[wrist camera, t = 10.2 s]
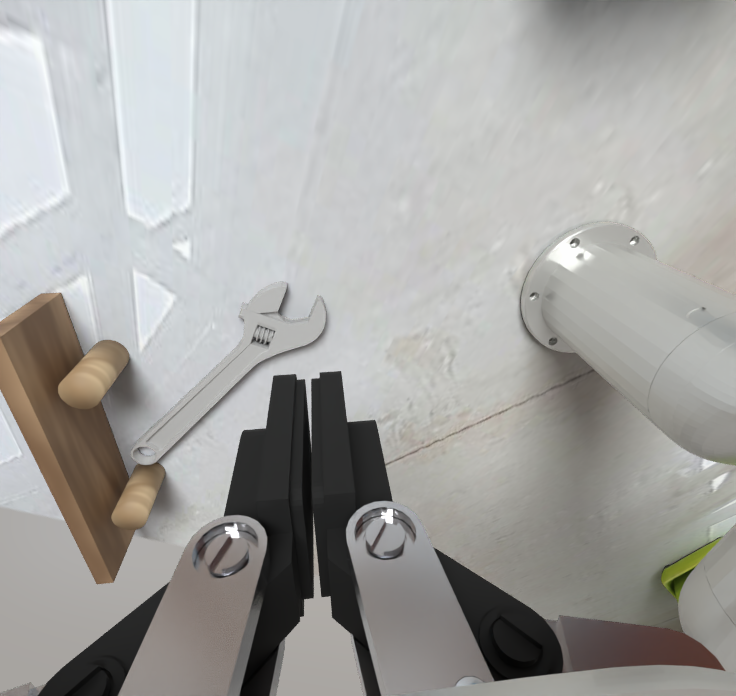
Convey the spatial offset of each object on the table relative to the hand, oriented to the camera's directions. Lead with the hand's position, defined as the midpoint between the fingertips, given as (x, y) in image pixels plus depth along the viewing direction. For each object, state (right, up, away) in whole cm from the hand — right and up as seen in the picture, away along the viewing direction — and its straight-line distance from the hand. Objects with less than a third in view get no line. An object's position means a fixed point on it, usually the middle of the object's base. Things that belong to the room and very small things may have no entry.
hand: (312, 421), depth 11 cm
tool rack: (-23, -5, +31) cm, 38 cm away
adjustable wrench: (-13, 0, +30) cm, 33 cm away
